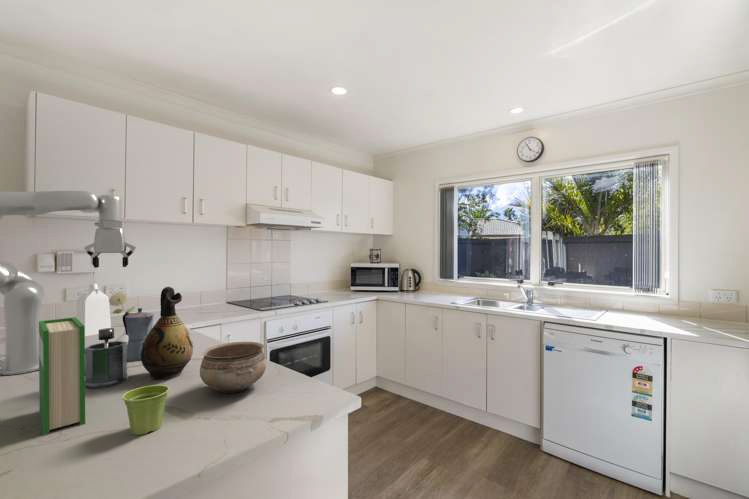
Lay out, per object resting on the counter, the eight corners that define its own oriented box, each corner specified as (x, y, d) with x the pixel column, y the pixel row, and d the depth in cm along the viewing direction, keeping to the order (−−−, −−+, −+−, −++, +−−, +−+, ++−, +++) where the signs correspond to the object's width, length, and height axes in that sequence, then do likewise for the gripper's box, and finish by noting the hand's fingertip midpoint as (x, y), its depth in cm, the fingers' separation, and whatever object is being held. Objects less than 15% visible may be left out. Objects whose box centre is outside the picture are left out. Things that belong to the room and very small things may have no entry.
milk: (111, 331, 188) (110, 283, 188) (84, 336, 178) (84, 285, 178) (101, 329, 194) (101, 282, 194) (75, 333, 185) (75, 284, 185)
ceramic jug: (200, 374, 120) (199, 287, 121) (148, 387, 109) (147, 291, 109) (182, 363, 132) (182, 284, 132) (134, 374, 121) (133, 287, 121)
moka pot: (143, 363, 133) (143, 310, 133) (110, 360, 136) (109, 309, 137) (163, 355, 143) (163, 306, 143) (131, 353, 146) (131, 305, 146)
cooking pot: (281, 393, 103) (280, 351, 103) (213, 412, 91) (212, 365, 91) (250, 371, 122) (249, 336, 123) (190, 385, 110) (190, 346, 110)
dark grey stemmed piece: (88, 378, 109) (88, 332, 109) (97, 371, 116) (97, 328, 116) (116, 375, 112) (115, 330, 112) (123, 368, 118) (123, 326, 118)
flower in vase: (141, 340, 168) (140, 288, 168) (146, 344, 160) (146, 290, 160) (107, 345, 159) (106, 290, 159) (111, 350, 151) (111, 292, 151)
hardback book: (85, 423, 86) (84, 325, 86) (43, 435, 81) (43, 331, 81) (76, 402, 98) (75, 317, 98) (39, 411, 93) (38, 321, 93)
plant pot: (137, 420, 87) (137, 385, 88) (176, 418, 88) (176, 383, 88) (112, 440, 78) (112, 401, 78) (156, 437, 79) (156, 399, 79)
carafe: (68, 392, 106) (67, 352, 106) (83, 379, 116) (83, 343, 116) (121, 385, 110) (121, 347, 110) (131, 374, 121) (131, 339, 121)
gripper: (80, 224, 137) (80, 268, 137) (132, 225, 143) (132, 267, 143) (88, 225, 144) (88, 267, 144) (137, 226, 150) (138, 266, 150)
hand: (110, 267), depth 143 cm, fingers open, 9 cm apart
